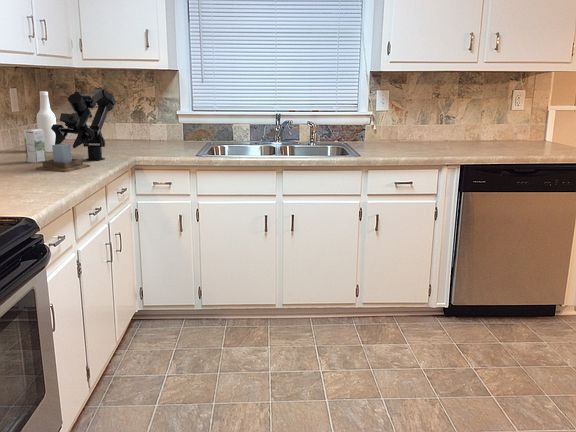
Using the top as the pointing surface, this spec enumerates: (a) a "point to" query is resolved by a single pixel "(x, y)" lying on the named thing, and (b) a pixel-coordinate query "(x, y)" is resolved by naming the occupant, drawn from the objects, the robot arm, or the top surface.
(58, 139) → the robot arm
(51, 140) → the alcohol
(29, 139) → the syrup box
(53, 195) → the top surface
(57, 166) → the cradle
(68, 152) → the block
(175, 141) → the top surface
